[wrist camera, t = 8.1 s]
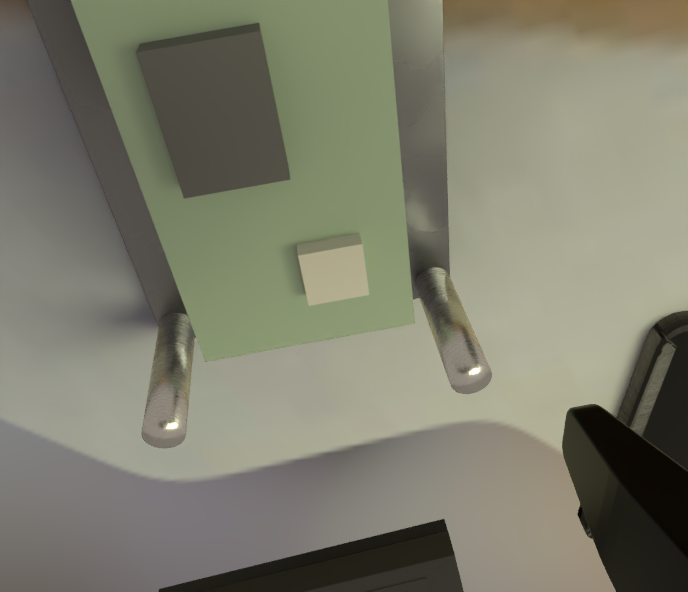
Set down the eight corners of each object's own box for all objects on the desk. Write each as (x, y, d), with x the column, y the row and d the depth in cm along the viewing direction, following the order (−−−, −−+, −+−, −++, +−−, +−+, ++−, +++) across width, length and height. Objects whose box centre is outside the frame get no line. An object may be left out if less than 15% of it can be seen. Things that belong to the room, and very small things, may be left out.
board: (369, -90, 13) (386, -75, 11) (405, 293, 19) (419, 337, 18) (76, -40, 13) (53, -18, 11) (207, 329, 19) (204, 377, 17)
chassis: (427, -222, 14) (508, -233, 10) (444, 278, 23) (491, 389, 18) (-21, -150, 14) (-139, -131, 10) (167, 327, 23) (149, 451, 18)
